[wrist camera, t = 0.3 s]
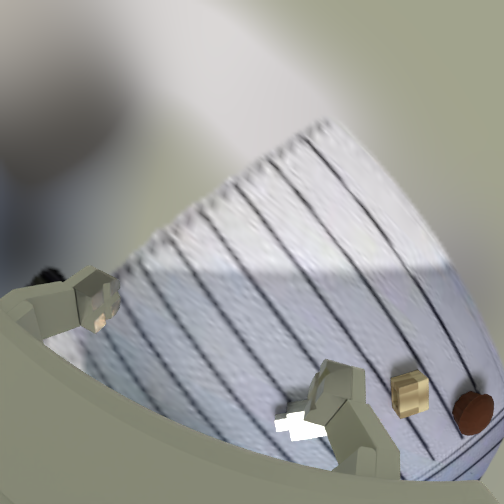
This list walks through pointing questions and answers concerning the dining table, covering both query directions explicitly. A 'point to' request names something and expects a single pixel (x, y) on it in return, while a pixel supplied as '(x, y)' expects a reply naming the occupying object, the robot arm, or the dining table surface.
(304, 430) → the outer sleeve
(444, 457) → the dining table surface
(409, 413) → the socket block
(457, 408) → the muffin
